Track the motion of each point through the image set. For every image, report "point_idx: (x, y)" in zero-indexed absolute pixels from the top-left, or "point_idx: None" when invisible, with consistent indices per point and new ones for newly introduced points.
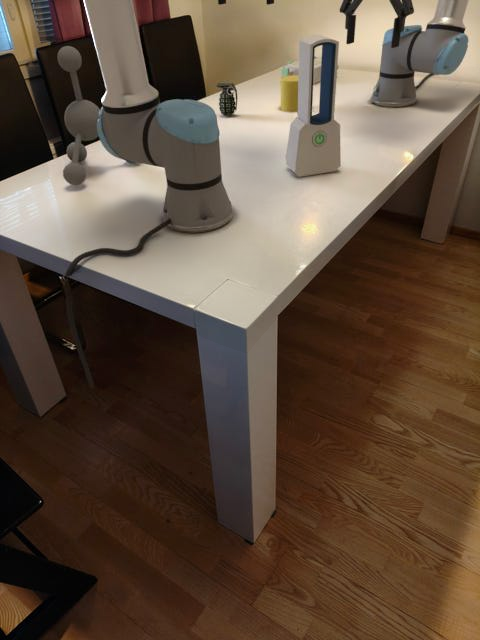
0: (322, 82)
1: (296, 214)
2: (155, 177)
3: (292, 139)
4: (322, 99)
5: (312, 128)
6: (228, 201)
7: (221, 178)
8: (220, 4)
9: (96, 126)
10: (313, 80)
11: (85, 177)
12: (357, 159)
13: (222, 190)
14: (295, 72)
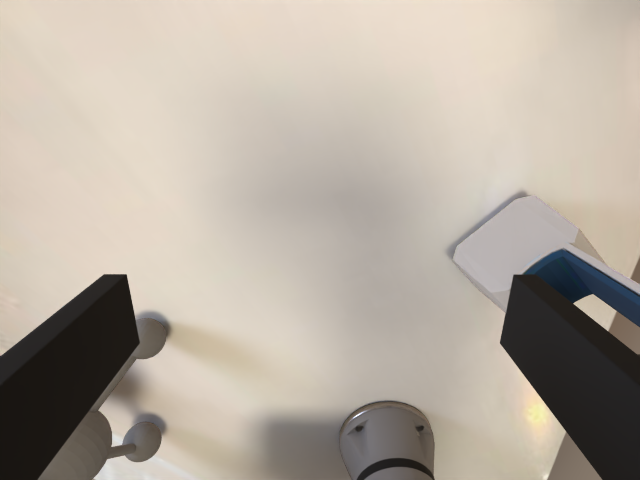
0: (625, 301)
1: (511, 389)
2: (238, 359)
3: (488, 293)
4: (596, 283)
5: None
6: (432, 445)
7: (433, 476)
8: (137, 343)
9: (109, 448)
10: None
11: (158, 430)
12: (581, 150)
13: (433, 468)
14: None
